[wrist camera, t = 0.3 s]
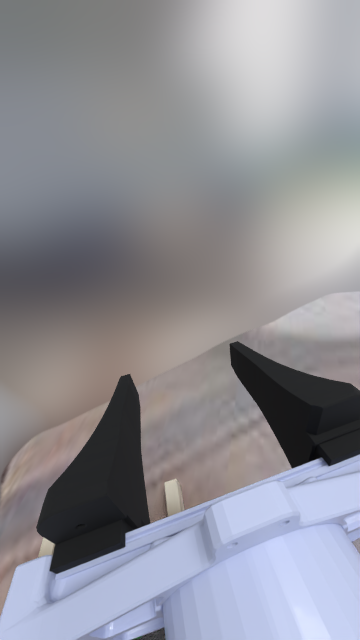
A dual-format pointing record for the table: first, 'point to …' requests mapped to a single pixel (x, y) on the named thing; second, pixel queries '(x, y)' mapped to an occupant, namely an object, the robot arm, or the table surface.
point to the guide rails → (173, 507)
